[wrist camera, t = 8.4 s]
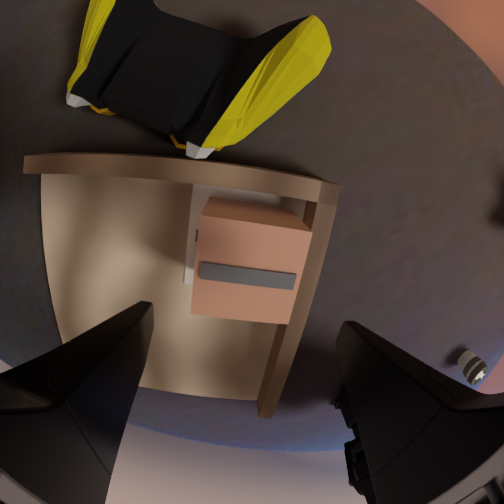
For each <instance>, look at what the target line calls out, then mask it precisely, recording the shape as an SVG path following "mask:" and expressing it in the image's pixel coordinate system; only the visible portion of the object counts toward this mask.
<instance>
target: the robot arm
mask: <svg viewBox="0 0 504 504" xmlns="http://www.w3.org/2000/svg"><path fill="white" fill-rule="evenodd" d="M153 329H154V306H153V303H152V302H148V301H139V302H137V303H136V304H134V305H132V306H130V307H128V308H127V309H125V310H123V311H121V312H119V313H118V314H116V315H114V316H112V317H110V318H109V319H107V320H105V321H103V322H101V323H100V324H98V325H96V326H94V327H93V328H91V329H89V330H87V331H85V332H84V333H82V334H80V335H78V336H77V337H75V338H73V339H71V340H70V342H69V341H68V342H66V343H64V344H62V345H61V346H59V347H57V348H55V349H53V350H51V351H49V352H47V353H45V354H43V355H41V356H39V357H37V358H35V359H33V360H30V361H28V362H26V363H23V364H21V365H19V366H17V367H14V368H12V369H10V370H8V371H5V372H3V373H0V504H105V501H106V496H107V492H108V488H109V483H110V480H111V475H112V472H113V468H114V464H115V460H116V457H117V453H118V449H119V446H120V442H121V439H122V436H123V432H124V429H125V426H126V423H127V419H128V416H129V413H130V410H131V407H132V404H133V401H134V398H135V395H136V392H137V389H138V386H139V383H140V380H141V377H142V374H143V371H144V368H145V364H146V360H147V355H148V351H149V346H150V342H151V338H152V333H153ZM336 348H337V353H338V358H339V363H340V368H341V373H342V377H343V381H344V384H345V386H344V388H343V390H342V392H341V393H340V395H339V397H338V399H337V400H336V402H335V404H334V407H335V409H341V412H342V414H343V417H344V420H345V422H346V425H347V427H348V428H349V429H351V428H352V430H353V433H354V436H355V438H356V439H354V440H352V441H348V442H346V443H344V446H345V450H344V452H345V457H346V464H347V470H348V477H349V484H350V486H353V487H354V488H355V489H356V491H357V492H358V493H359V494H360V495H364V496H365V498H366V501H367V503H368V504H504V392H503V393H498V394H483V393H480V392H478V391H476V390H474V389H471V388H469V387H467V386H465V385H463V384H461V383H459V382H458V381H456V380H454V379H452V378H450V377H448V376H446V375H444V374H442V373H441V372H439V371H437V370H435V369H434V368H432V367H430V366H429V365H427V364H426V365H425V363H424V362H422V361H420V360H419V359H417V358H415V357H414V356H412V355H410V354H409V353H407V352H405V351H404V350H402V349H400V348H399V347H397V346H395V345H394V344H392V343H390V342H389V341H387V340H385V339H384V338H382V337H380V336H379V335H377V334H375V333H374V332H372V331H370V330H369V329H367V328H365V327H364V326H362V325H361V324H359V323H357V322H355V321H344V322H343V324H342V326H341V328H340V331H339V334H338V336H337V339H336Z"/></svg>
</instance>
